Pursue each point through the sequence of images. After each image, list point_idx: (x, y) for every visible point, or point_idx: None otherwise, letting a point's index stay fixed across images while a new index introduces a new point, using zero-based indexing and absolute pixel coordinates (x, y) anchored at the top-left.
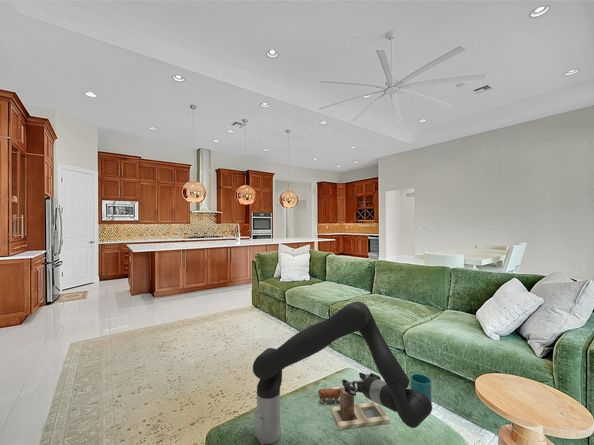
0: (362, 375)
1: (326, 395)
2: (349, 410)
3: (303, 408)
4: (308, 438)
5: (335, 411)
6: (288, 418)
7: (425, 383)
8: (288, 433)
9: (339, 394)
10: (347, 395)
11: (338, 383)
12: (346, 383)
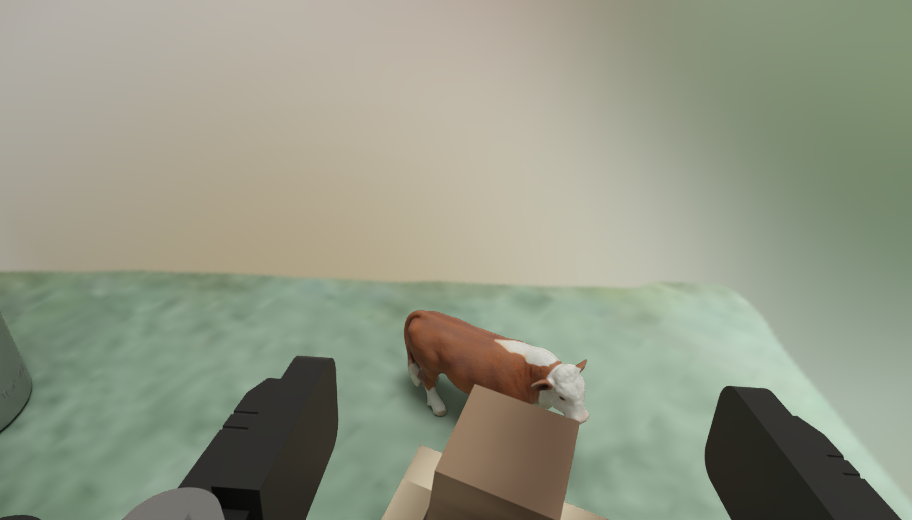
0: (779, 485)
1: (440, 362)
2: None
3: None
4: None
5: (418, 495)
6: (169, 372)
7: None
8: (32, 463)
9: (532, 398)
10: (475, 502)
11: (617, 323)
12: (188, 498)
